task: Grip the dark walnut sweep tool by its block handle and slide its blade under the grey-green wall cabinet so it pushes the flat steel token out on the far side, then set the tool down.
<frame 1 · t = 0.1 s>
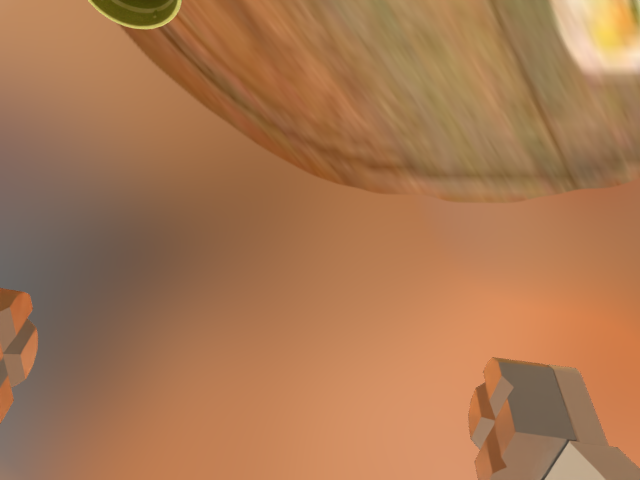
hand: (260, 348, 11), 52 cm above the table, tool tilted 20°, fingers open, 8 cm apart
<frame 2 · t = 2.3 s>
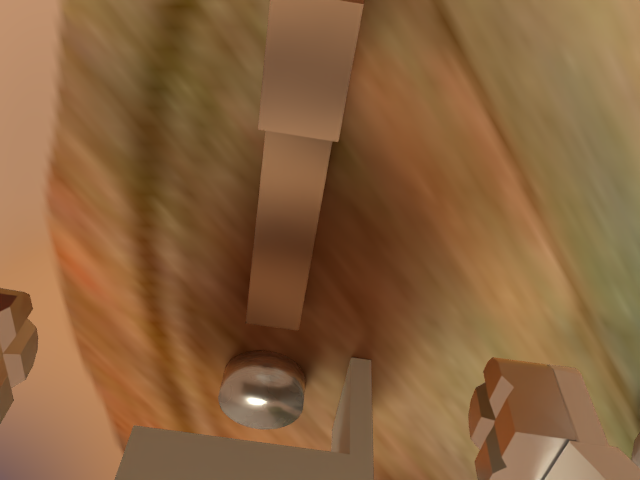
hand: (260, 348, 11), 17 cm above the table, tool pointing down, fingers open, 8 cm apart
cabinet: (264, 384, 38), on the table
sweep tool: (314, 29, 25), on the table
steel token: (265, 376, 38), on the table
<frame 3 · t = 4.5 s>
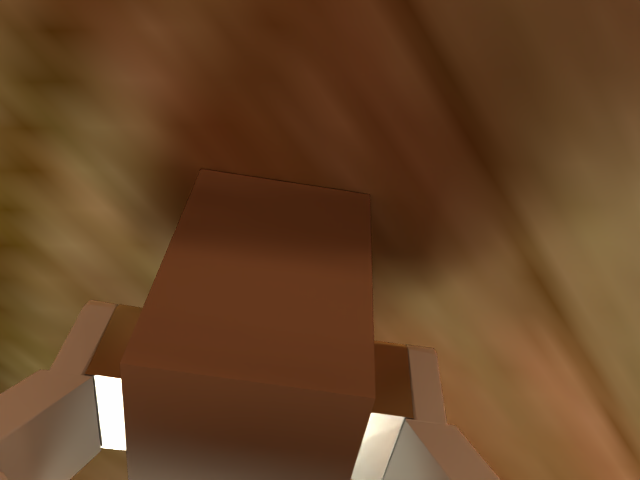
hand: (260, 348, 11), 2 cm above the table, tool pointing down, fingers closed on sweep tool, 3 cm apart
sweep tool: (272, 287, 12), on the table, touching gripper
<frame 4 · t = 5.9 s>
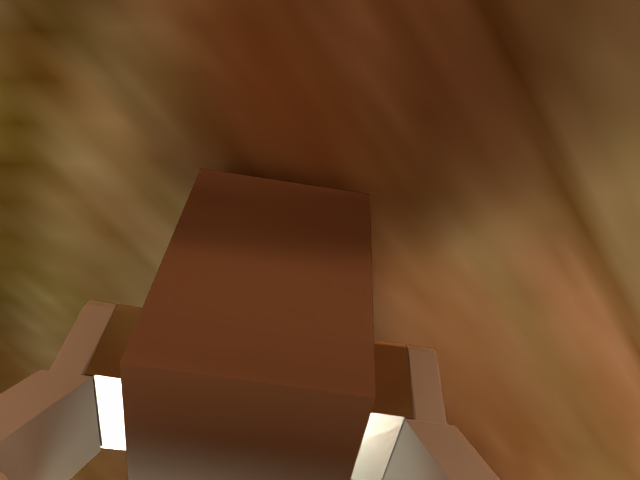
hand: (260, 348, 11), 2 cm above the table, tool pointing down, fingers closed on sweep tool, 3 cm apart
sweep tool: (271, 287, 12), point 1 cm above the table, touching gripper
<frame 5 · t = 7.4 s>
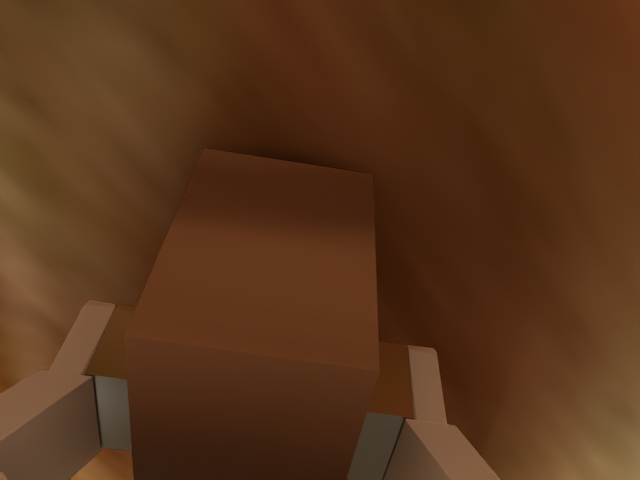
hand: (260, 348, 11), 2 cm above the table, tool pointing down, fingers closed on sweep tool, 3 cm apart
sweep tool: (274, 269, 12), point 1 cm above the table, touching gripper, steel token
when the fingers open (2 cm above the table, at t = 9.6 s): sweep tool stays where it is, on the table.
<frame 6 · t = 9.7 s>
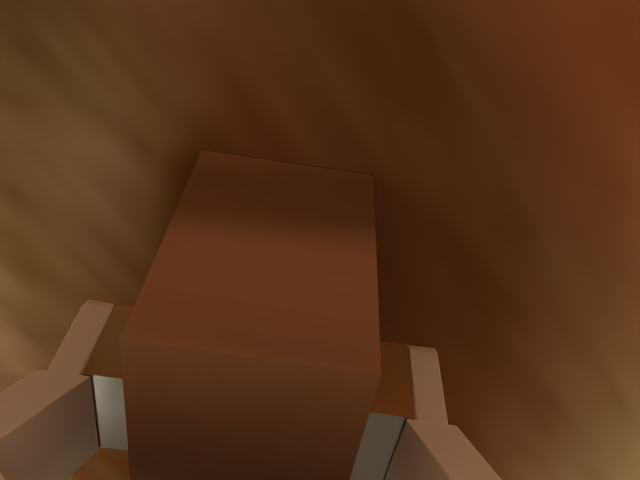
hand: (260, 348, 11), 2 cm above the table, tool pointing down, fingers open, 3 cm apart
sweep tool: (274, 272, 12), on the table
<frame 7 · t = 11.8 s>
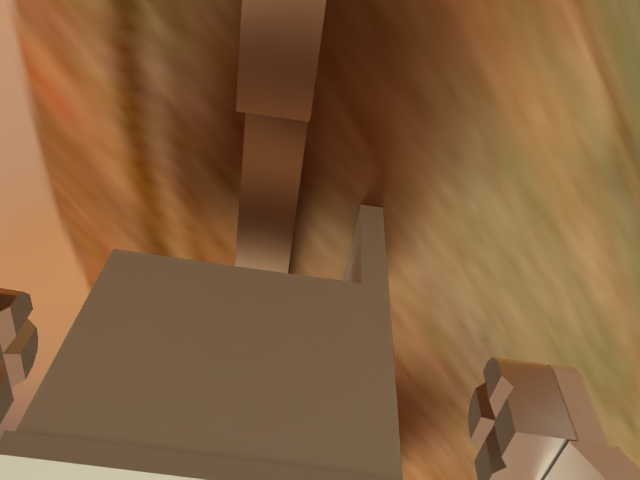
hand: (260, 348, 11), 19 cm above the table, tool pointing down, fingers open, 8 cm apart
cabinet: (263, 244, 34), on the table
sweep tool: (289, 21, 27), on the table
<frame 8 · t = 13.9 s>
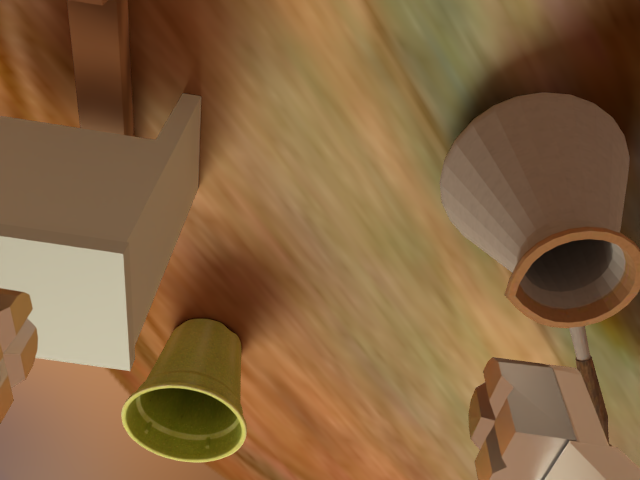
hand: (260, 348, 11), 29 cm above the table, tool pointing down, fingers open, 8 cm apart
coffee pot: (531, 214, 44), on the table
cabinet: (110, 130, 41), on the table
plant pot: (207, 341, 53), on the table
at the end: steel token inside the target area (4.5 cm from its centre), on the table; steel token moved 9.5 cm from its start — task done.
